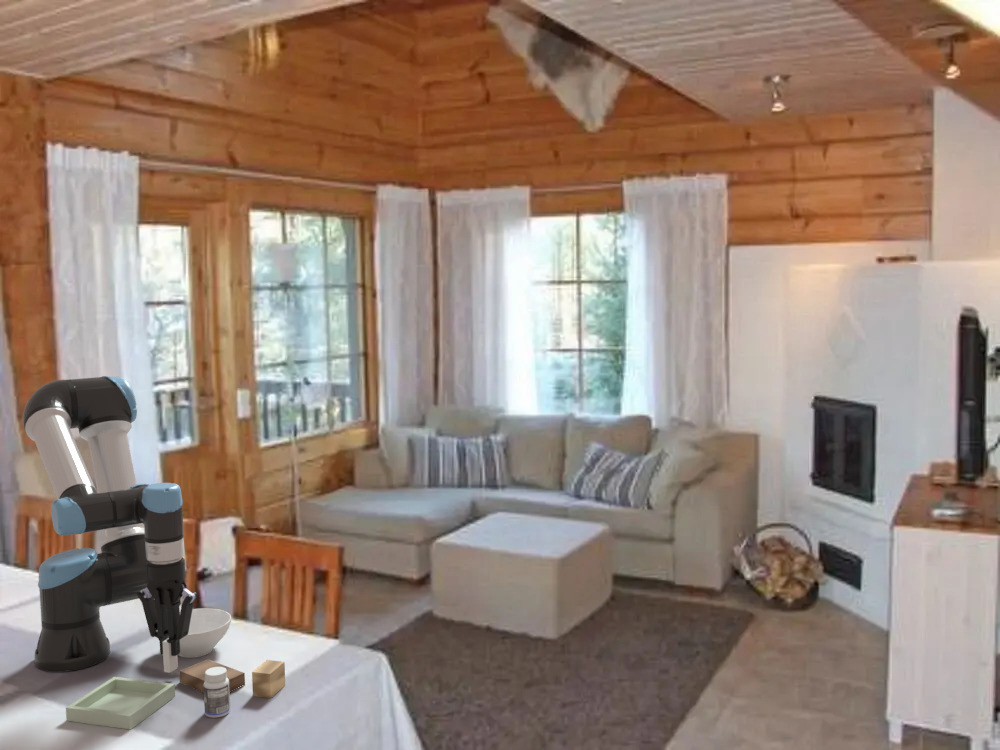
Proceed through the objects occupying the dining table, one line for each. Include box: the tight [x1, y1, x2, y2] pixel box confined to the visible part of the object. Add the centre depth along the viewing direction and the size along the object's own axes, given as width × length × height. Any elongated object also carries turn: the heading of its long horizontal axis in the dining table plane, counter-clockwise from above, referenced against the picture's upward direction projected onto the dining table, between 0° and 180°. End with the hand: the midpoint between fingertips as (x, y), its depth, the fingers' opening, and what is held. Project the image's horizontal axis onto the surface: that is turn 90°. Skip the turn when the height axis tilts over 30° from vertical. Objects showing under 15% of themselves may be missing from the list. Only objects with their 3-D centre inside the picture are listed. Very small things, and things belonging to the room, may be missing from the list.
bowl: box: [177, 607, 232, 659], centre depth 208 cm, size 16×16×7 cm
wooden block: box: [251, 659, 286, 699], centre depth 188 cm, size 4×6×5 cm, turn 165°
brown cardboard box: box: [178, 659, 246, 693], centre depth 192 cm, size 12×7×3 cm, turn 54°
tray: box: [65, 676, 176, 730], centre depth 181 cm, size 14×14×3 cm
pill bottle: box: [203, 667, 231, 719], centre depth 179 cm, size 5×5×8 cm
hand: (171, 669), depth 194 cm, fingers closed
